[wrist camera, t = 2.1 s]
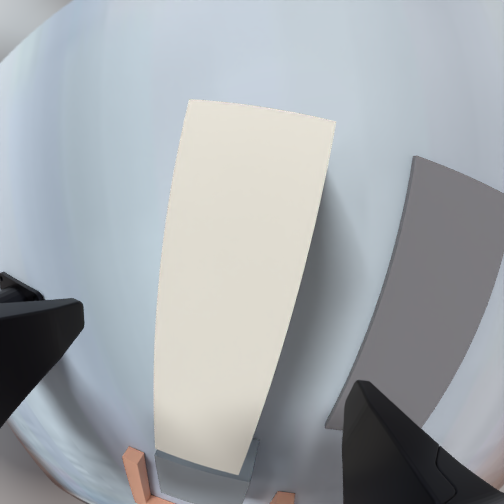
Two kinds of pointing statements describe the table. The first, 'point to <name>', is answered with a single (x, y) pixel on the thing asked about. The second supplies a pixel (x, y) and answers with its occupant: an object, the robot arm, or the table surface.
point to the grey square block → (204, 479)
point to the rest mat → (430, 290)
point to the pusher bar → (231, 271)
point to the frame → (140, 484)
